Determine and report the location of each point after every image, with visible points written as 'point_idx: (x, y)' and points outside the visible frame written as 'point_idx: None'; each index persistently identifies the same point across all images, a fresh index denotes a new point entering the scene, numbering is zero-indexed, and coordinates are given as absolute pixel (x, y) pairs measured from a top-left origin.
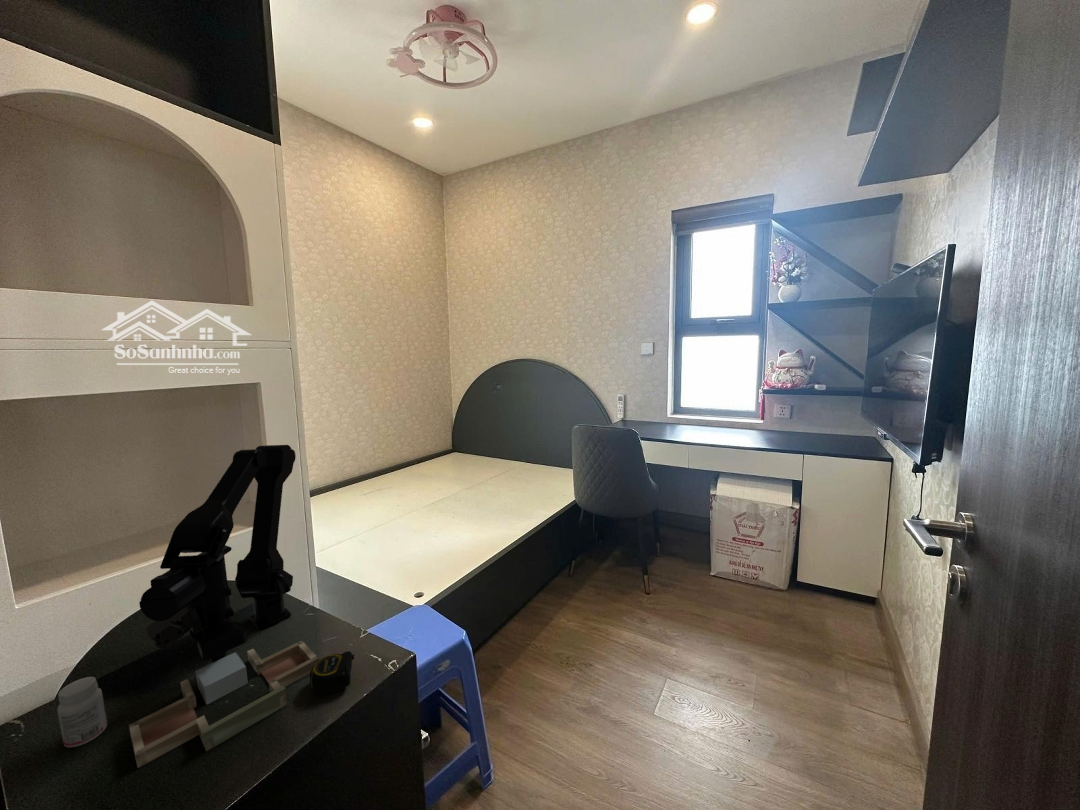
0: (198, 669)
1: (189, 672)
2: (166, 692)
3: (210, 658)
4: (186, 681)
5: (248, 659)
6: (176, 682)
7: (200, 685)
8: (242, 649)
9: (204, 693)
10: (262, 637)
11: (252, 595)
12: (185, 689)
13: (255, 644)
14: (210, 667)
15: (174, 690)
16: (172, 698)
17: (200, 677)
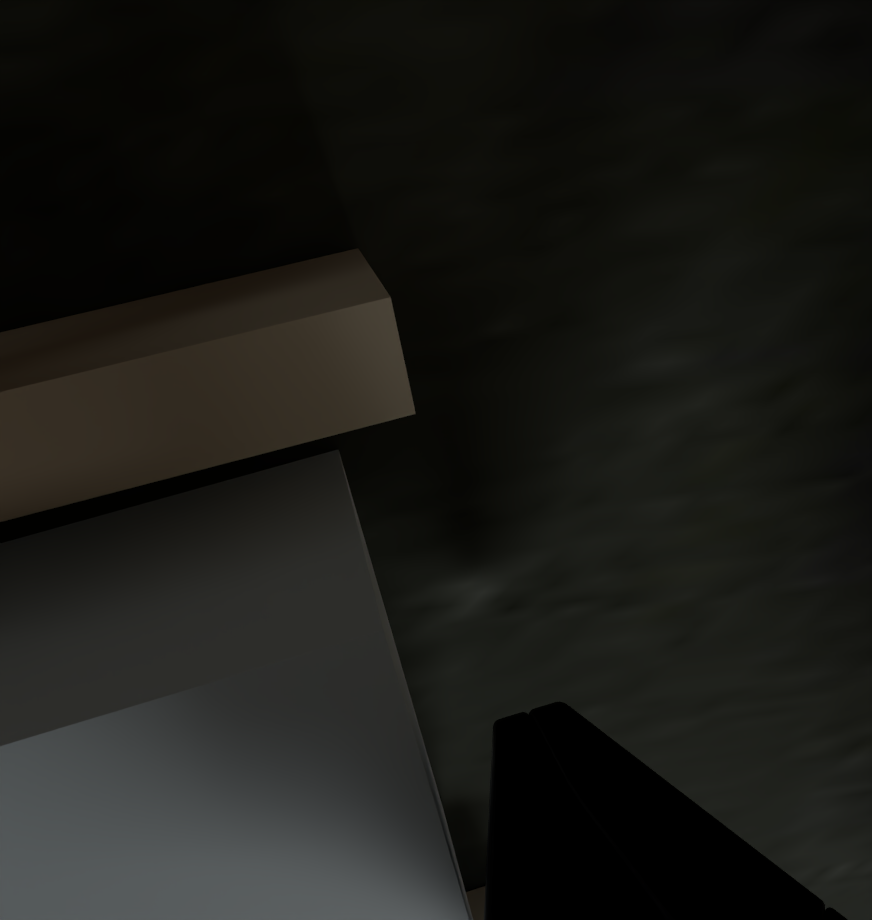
0: (395, 672)
1: (824, 310)
2: (554, 4)
3: (599, 816)
4: (340, 401)
5: None
6: (720, 149)
7: (34, 633)
8: (778, 796)
9: None
10: None
11: None
12: (38, 413)
13: None
14: (303, 845)
15: (514, 131)
16: (292, 113)
17: (30, 754)
